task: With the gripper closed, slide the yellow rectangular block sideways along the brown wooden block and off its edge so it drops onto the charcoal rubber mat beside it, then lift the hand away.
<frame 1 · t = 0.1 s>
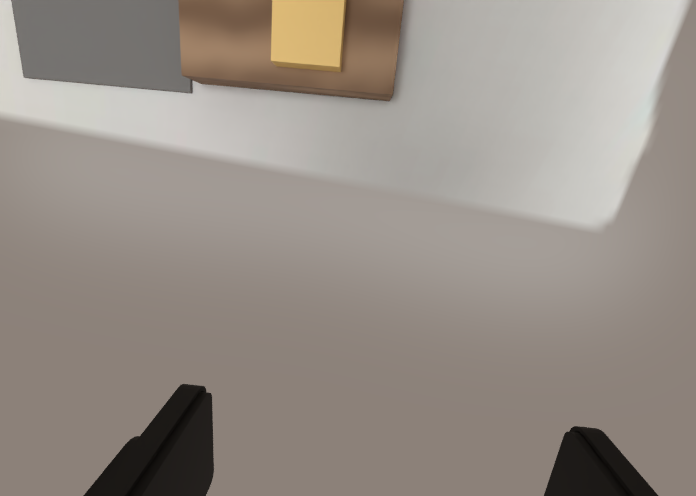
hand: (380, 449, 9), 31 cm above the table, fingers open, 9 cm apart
mat: (102, 10, 34), on the table
yellow rectangular block: (311, 13, 30), point 4 cm above the table, touching brown wooden block
brown wooden block: (297, 27, 34), on the table
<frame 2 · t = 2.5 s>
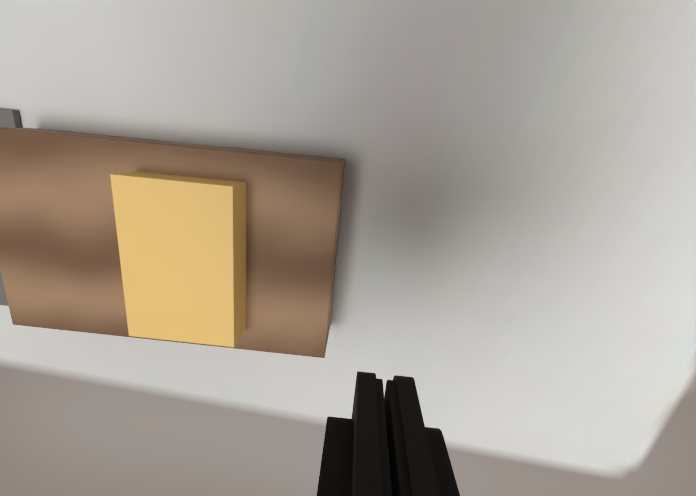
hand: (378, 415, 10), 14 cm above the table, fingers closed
yellow rectangular block: (194, 255, 19), point 4 cm above the table, touching brown wooden block
brown wooden block: (193, 233, 23), on the table
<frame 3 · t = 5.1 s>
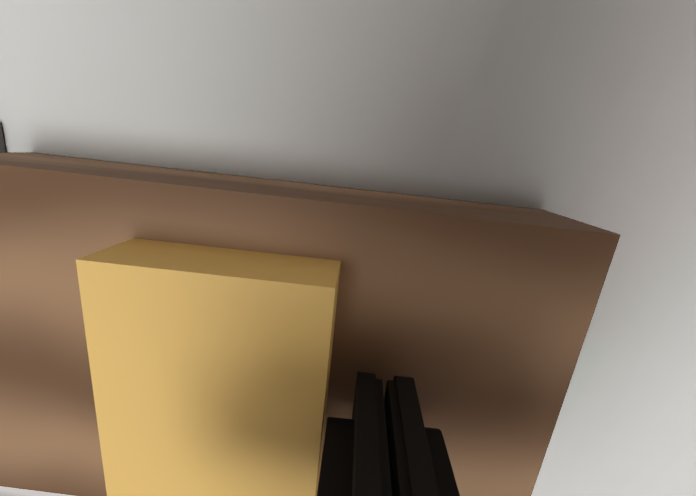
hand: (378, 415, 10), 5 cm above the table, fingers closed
yellow rectangular block: (235, 382, 11), point 4 cm above the table, touching brown wooden block, gripper
brown wooden block: (277, 319, 15), on the table
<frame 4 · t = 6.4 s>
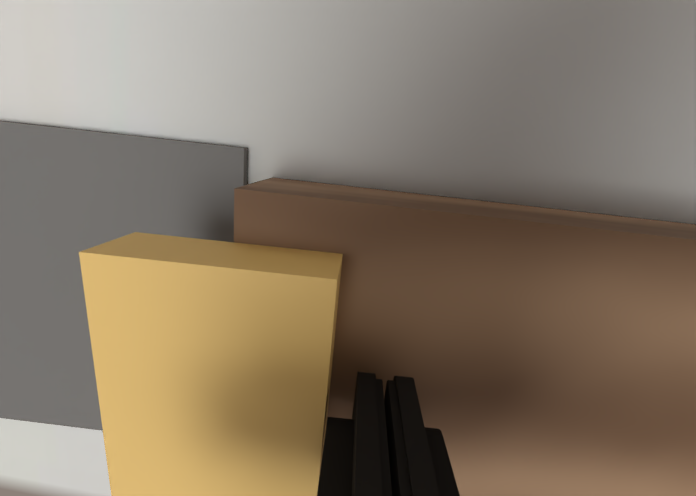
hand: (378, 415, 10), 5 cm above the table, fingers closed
mat: (43, 290, 15), on the table
yellow rectangular block: (237, 376, 11), point 4 cm above the table, touching gripper
brown wooden block: (495, 343, 15), on the table
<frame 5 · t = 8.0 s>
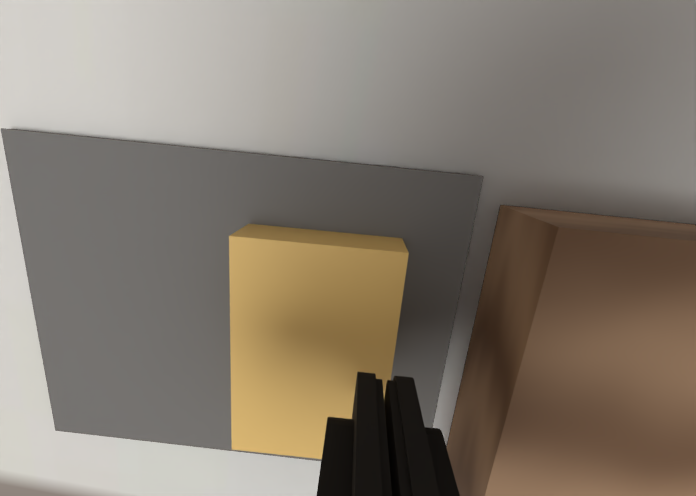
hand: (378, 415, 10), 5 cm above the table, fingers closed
mat: (241, 317, 15), on the table
yellow rectangular block: (310, 361, 12), point 2 cm above the table, tilted 180°, touching mat
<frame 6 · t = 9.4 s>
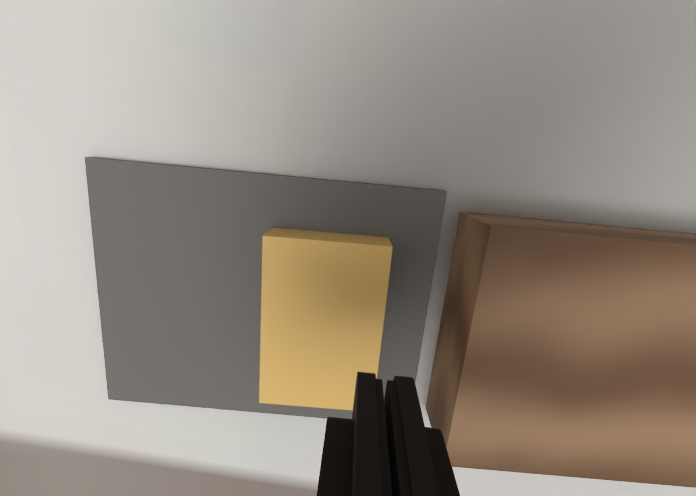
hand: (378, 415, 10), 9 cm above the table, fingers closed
mat: (264, 301, 19), on the table
yellow rectangular block: (321, 329, 17), point 2 cm above the table, tilted 180°, touching mat
brown wooden block: (617, 333, 19), on the table
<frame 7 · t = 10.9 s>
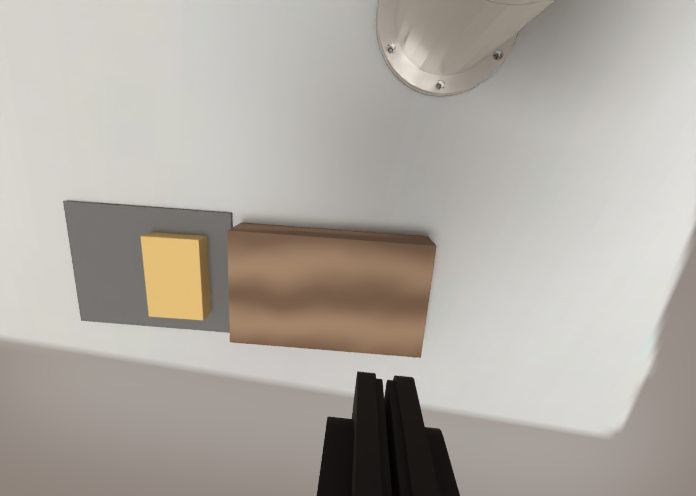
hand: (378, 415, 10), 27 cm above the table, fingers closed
mat: (154, 268, 38), on the table
yellow rectangular block: (172, 279, 35), point 2 cm above the table, tilted 180°, touching mat
brown wooden block: (331, 282, 37), on the table
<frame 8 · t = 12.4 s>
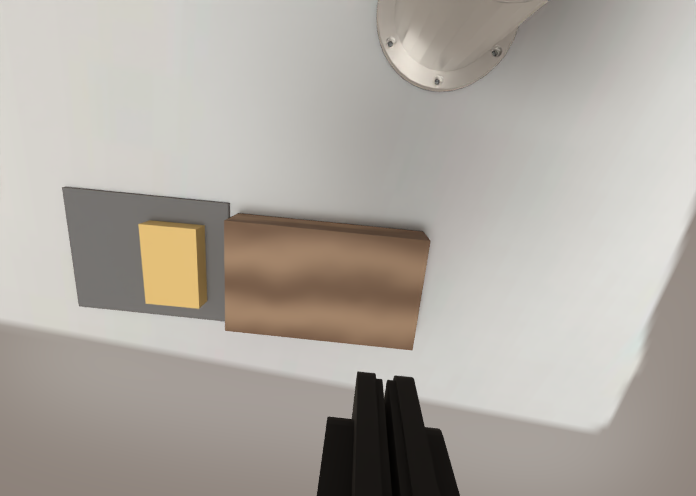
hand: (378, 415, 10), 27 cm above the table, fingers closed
mat: (151, 256, 38), on the table
yellow rectangular block: (169, 267, 36), point 2 cm above the table, tilted 180°, touching mat
brown wooden block: (326, 274, 38), on the table
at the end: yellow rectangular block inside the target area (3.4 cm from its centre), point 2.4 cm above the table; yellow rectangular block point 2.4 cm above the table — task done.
